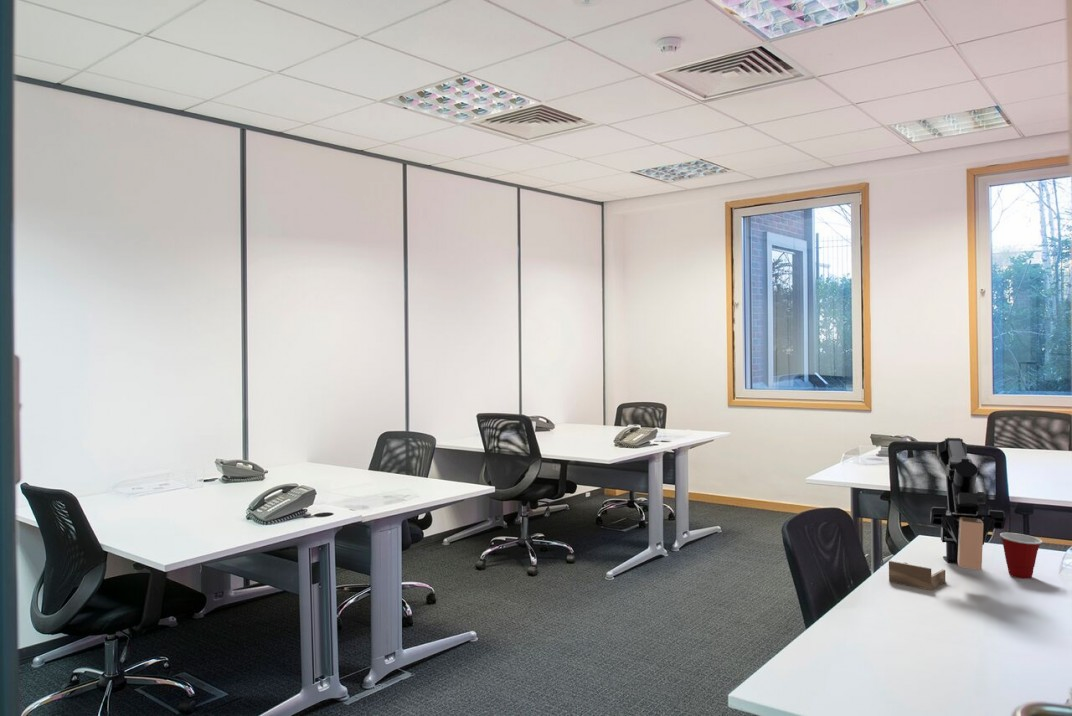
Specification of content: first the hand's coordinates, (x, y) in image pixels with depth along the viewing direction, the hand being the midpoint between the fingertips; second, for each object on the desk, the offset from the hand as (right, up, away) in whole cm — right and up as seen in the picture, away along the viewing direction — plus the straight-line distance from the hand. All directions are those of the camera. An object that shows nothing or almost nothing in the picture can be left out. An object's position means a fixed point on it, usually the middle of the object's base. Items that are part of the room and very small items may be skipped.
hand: (970, 543), depth 212 cm
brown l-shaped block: (-10, -14, +9) cm, 19 cm away
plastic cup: (+23, -13, +13) cm, 30 cm away
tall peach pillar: (+1, -7, +1) cm, 7 cm away
